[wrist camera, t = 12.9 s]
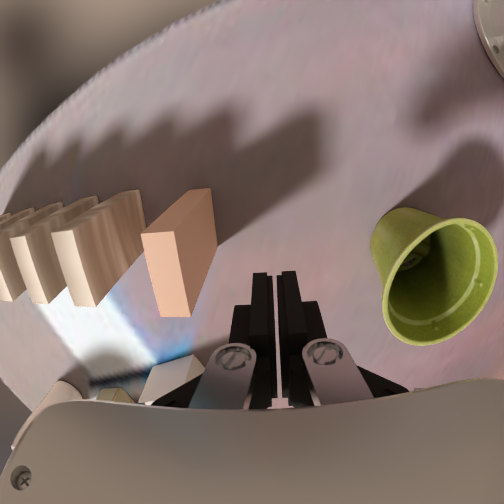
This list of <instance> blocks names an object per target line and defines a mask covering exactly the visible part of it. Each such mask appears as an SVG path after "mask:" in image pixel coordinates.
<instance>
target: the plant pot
mask: <svg viewBox="0 0 504 504" xmlns="http://www.w3.org/2000/svg"><path fill="white" fill-rule="evenodd" d="M371 253H372V256H373V258H374V261H375V264H376V267H377V269H378V272H379V275H380V278H381V281H382V285H383V294H382V311H383V316H384V319H385V322H386V324H387V326H388V328H389V330H390V331H391V332H392V334H393V335H394V336H396V337H397V338H398V339H400V340H401V341H403V342H405V343H408V344H411V345H419V346H423V345H431V344H436V343H439V342H442V341H444V340H447V339H449V338H451V337H453V336H454V335H456V334H457V333H459V332H460V331H462V330H463V329H464V328H466V327H467V326H468V325H469V324H470V323H471V322H472V321H473V320H474V319H475V318H476V317H477V316H478V314H479V313H480V312H481V310H482V309H483V307H484V306H485V304H486V303H487V301H488V299H489V297H490V295H491V293H492V290H493V287H494V284H495V280H496V277H497V271H498V254H497V249H496V245H495V243H494V240H493V238H492V236H491V234H490V233H489V231H488V230H487V229H486V228H485V227H484V226H482V225H481V224H480V223H478V222H476V221H474V220H471V219H468V218H463V217H454V218H448V219H443V218H440V217H437V216H434V215H431V214H428V213H425V212H423V211H420V210H417V209H414V208H409V207H402V208H397V209H394V210H392V211H390V212H388V213H387V214H386V215H385V216H383V217H382V218H381V219H380V220H379V222H378V224H377V226H376V228H375V231H374V233H373V236H372V238H371ZM414 258H415V259H414ZM411 259H414V261H413V262H412V263H410V264H409V265H406V266H403V263H405V262H408V261H410V260H411Z"/></svg>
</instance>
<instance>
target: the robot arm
mask: <svg viewBox="0 0 504 504" xmlns="http://www.w3.org/2000/svg"><path fill="white" fill-rule="evenodd" d="M473 14H474V20H475V24H476V28H477V31H478V34H479V37H480V39H481V42H482V44H483V46H484V48H485V50H486V52H487V54H488V56H489V58H490V60H491V61H492V63H493V65H494V66H495V68H496V69H497V71H498V72H499V73H500V75H501V76H502V77H503V78H504V0H474V1H473ZM277 298H278V325H279V345H280V363H281V381H282V398H287V397H288V403H289V406H293V407H295V408H282V409H267V408H268V407H272V398H277V368H276V341H275V319H274V299H273V280H272V276H267V272H265V273H253V284H252V298H251V305H235V307H234V312H233V319H232V325H231V332H230V338H229V344H225V345H223V346H221V347H219V348H217V349H216V350H215V351H214V352H213V353H212V355H211V357H210V359H209V361H208V363H207V366H206V368H205V370H204V373H202V374H200V375H199V376H197V377H195V378H193V379H192V380H190V381H188V382H187V383H185V384H183V385H181V386H180V387H178V388H176V389H174V390H173V391H171V392H169V393H167V394H165V395H164V396H162V397H160V398H158V399H157V400H155V401H154V402H153V403H152V404H151V405H146V404H145V402H144V403H124V402H114V401H106V400H91V399H82V400H69V401H62V402H58V403H54V404H51V405H49V406H47V407H45V408H44V409H42V410H41V411H40V412H39V413H38V414H37V415H36V416H35V417H34V419H33V420H32V421H31V423H30V424H29V425H28V427H27V428H26V430H25V431H24V433H23V434H22V436H21V438H20V439H19V441H18V443H17V444H16V446H15V448H14V450H13V452H12V454H11V455H10V458H9V459H8V461H7V464H6V466H5V468H4V470H3V472H2V474H1V476H0V504H504V380H501V379H495V378H477V379H467V380H462V381H456V382H451V383H447V384H443V385H438V386H434V387H429V388H415V389H414V391H411V392H409V391H408V389H406V388H404V387H403V386H401V385H399V384H396V383H394V382H392V381H390V380H387V379H385V378H383V377H381V376H379V375H376V374H374V373H372V372H370V371H368V370H366V369H363V368H361V367H359V366H357V365H356V364H355V362H354V360H353V359H352V357H351V355H350V353H349V351H348V350H347V348H346V347H345V346H344V344H342V343H341V342H339V341H337V340H334V339H328V338H327V335H326V331H325V328H324V324H323V320H322V317H321V313H320V309H319V306H318V303H317V301H308V302H302V301H301V296H300V291H299V286H298V281H297V276H296V272H295V271H283V272H282V275H277Z"/></svg>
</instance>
